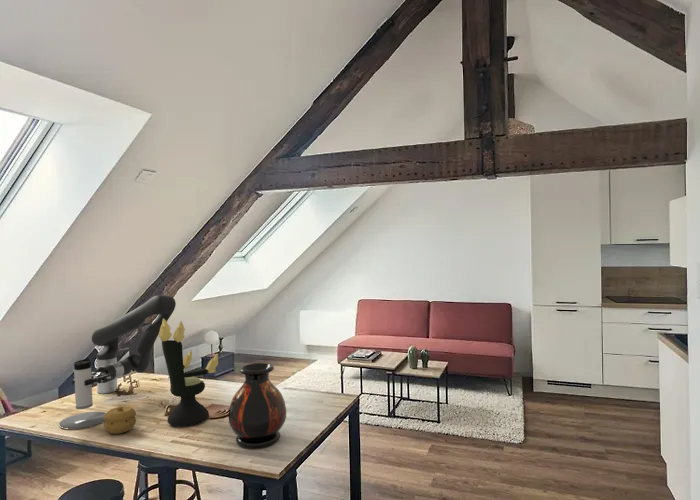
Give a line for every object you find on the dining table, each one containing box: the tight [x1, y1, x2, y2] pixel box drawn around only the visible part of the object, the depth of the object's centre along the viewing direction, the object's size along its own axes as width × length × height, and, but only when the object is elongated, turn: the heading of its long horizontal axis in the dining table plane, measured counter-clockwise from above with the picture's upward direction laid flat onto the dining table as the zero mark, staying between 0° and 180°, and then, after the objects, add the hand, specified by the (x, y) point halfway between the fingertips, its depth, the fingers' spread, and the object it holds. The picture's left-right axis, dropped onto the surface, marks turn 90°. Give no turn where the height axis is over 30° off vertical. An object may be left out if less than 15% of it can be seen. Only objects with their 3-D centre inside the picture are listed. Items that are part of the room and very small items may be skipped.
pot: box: [103, 405, 137, 435], centre depth 186 cm, size 12×12×10 cm
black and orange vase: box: [227, 362, 287, 450], centre depth 174 cm, size 22×22×28 cm
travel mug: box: [73, 358, 94, 410], centre depth 197 cm, size 6×7×20 cm
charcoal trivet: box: [59, 411, 107, 430], centre depth 197 cm, size 18×18×1 cm
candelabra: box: [158, 318, 219, 428], centre depth 193 cm, size 19×22×45 cm
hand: (79, 382), depth 195 cm, fingers closed on travel mug, 6 cm apart
